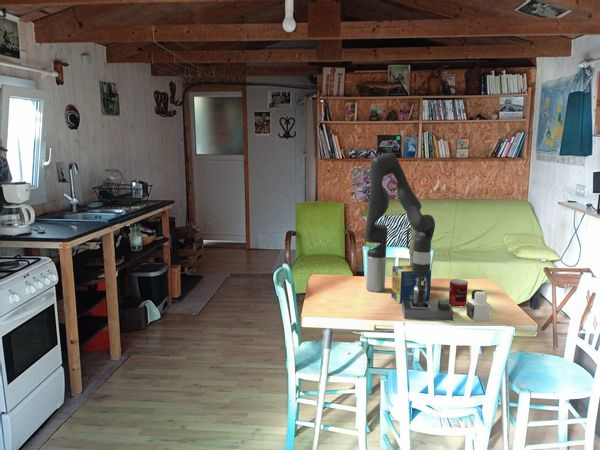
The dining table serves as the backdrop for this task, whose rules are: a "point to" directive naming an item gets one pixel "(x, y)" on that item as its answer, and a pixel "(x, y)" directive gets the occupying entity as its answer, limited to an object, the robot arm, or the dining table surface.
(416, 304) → the grey rounded cylinder
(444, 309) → the grey panel
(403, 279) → the protein box
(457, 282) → the canned food
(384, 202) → the robot arm
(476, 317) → the medicine bottle
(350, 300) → the dining table surface
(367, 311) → the dining table surface
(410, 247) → the thermos
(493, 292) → the dining table surface
